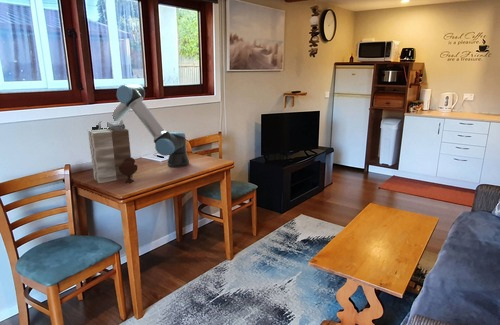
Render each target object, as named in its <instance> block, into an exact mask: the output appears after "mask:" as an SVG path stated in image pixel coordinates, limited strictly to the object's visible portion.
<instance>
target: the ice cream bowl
mask: <svg viewBox="0 0 500 325" xmlns="http://www.w3.org/2000/svg"><path fill="white" fill-rule="evenodd" d="M135 163H136V160H135V158H134V157H132V156H131V157H127V158H126V159H125V160H124V162H123V163H122V164H121V166H119V171H120V172H121V173H122V174H124V175H127V177H128V178H126V180H124V183H125V184H133V183H135V180H134V179H132V177H130V176H131V175H132V174H133V175H134V174H135V173H136V172H137V171H138V164H135ZM132 182H133V183H132Z"/></svg>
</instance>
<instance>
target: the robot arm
mask: <svg viewBox="0 0 500 325" xmlns="http://www.w3.org/2000/svg"><path fill="white" fill-rule="evenodd" d="M145 91H146V90H145V88H144V87H143V86H142V85H140V84H136V83H135V84H134V83H133V84H123V85H120V86H119V87H118V88H117V90H116V98H117V100H118V102H120V103H119V105H117V106H116V107H115V108H116V109H115V108H114V109H115V110H114V109H113V110H114V112H113V115H112V116H113V119H114V121H118V122H119V121H120V122H119V123H118V124H121V125H123V126H124V128H125V129H126V126H125V124H124V120H123V119H122V118H123V117H124V116H126V114H127V113H128V112H129V111H131V110H132V111H133V113H134V114H135V115H136V116H137V118H138V119H139V120H140V122H141V123H142V124H143V126H144V127H145V128H146V130H148V132H149V133H150V135H151V136H152V137H153V143H154V145H155V148H154V149H155V151H156V152H157V153H158V154H159V155H161V156H165V157H167V156H168V158H167V166H168V167H170V168H171V167H173V168H182V167H187V166H189V165H190V160H189V156H188V155H187V144H186V143H187V142H186V138H187V137H186V133H184V132H174V131H173V132H170V131H168V130H165V129H164V128H163V127H162V125H161V124H160V123H159V121H158V120H157V118H156V117H155V116H154V114H153V113H152V112H151V111H150V108H148V107H147V105H146V103H144V99H145V96H146V92H145ZM98 122H99V123H98V125H96V127H92V130H101V129H103V128H101V122H102V121H98ZM104 129H107V128H104ZM108 129H111V128H108Z"/></svg>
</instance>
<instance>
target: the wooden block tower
mask: <svg viewBox="0 0 500 325" xmlns="http://www.w3.org/2000/svg"><path fill="white" fill-rule="evenodd" d="M129 132H130V131H129V129H127V128H126V127H125V128H124V130H121V131H114V130H113V129H101V130H91V131H88V130H87V133H88V140H89V149H90V156H91V157H90V158H91V166H92V172H93V179H94V180H95V181H96V182H97V183H98V184H105V183H110V182H114V181H119V180H125V179H126V180H127V179H128V177H127V175H124V174H122V173H121V172H120V171H119V166H121V164H122V163H123V162H124V160H125V159H126V158H127V157H132V154H131V153H132V151H131V144H130V143H131V142H130V134H129ZM133 175H134V174H132V175H131V176H130V177H131V178H133V177H134V176H133Z"/></svg>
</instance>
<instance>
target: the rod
mask: <svg viewBox="0 0 500 325" xmlns="http://www.w3.org/2000/svg"><path fill="white" fill-rule="evenodd" d="M107 127H109V128H111V129H113V130H114V131H121V130H124V126H123V125H121V124H119V123H114V122H107Z"/></svg>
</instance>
